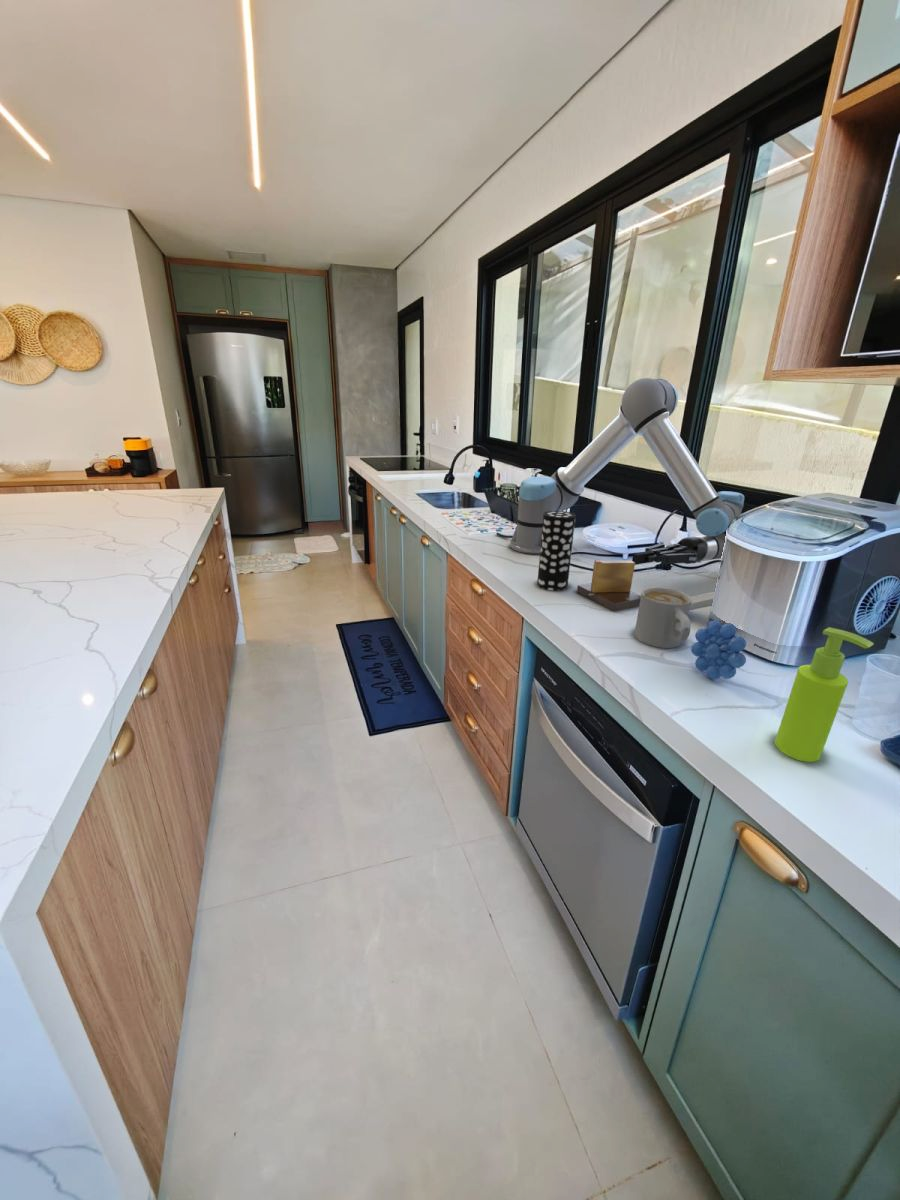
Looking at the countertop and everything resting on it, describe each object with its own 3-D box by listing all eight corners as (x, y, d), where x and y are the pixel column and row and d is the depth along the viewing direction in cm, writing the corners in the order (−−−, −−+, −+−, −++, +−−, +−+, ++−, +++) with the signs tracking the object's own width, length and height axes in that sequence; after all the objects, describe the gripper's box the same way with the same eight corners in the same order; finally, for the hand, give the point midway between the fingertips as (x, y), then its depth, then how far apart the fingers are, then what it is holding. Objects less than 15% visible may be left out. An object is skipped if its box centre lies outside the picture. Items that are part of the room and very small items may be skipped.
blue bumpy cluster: (754, 691, 92) (771, 632, 87) (724, 696, 90) (740, 636, 85) (706, 660, 102) (720, 606, 97) (678, 665, 100) (691, 609, 95)
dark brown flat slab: (649, 603, 129) (651, 595, 128) (607, 612, 123) (608, 604, 122) (610, 585, 141) (611, 578, 140) (570, 593, 135) (571, 585, 134)
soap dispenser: (818, 771, 72) (865, 647, 64) (767, 745, 77) (805, 628, 70) (834, 756, 75) (880, 636, 68) (784, 732, 80) (822, 618, 73)
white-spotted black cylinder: (535, 588, 138) (541, 516, 130) (539, 578, 145) (545, 509, 137) (566, 592, 135) (574, 519, 128) (568, 582, 143) (576, 512, 135)
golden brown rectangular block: (627, 589, 133) (632, 559, 129) (630, 592, 131) (635, 561, 128) (590, 589, 132) (594, 559, 129) (592, 592, 130) (597, 562, 127)
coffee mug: (628, 627, 116) (635, 586, 112) (671, 628, 116) (679, 587, 112) (649, 655, 103) (658, 611, 99) (697, 656, 103) (708, 612, 100)
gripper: (712, 568, 141) (650, 580, 131) (674, 555, 151) (615, 565, 142) (718, 542, 138) (655, 552, 128) (679, 531, 149) (619, 539, 139)
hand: (634, 559), depth 135 cm, fingers closed
